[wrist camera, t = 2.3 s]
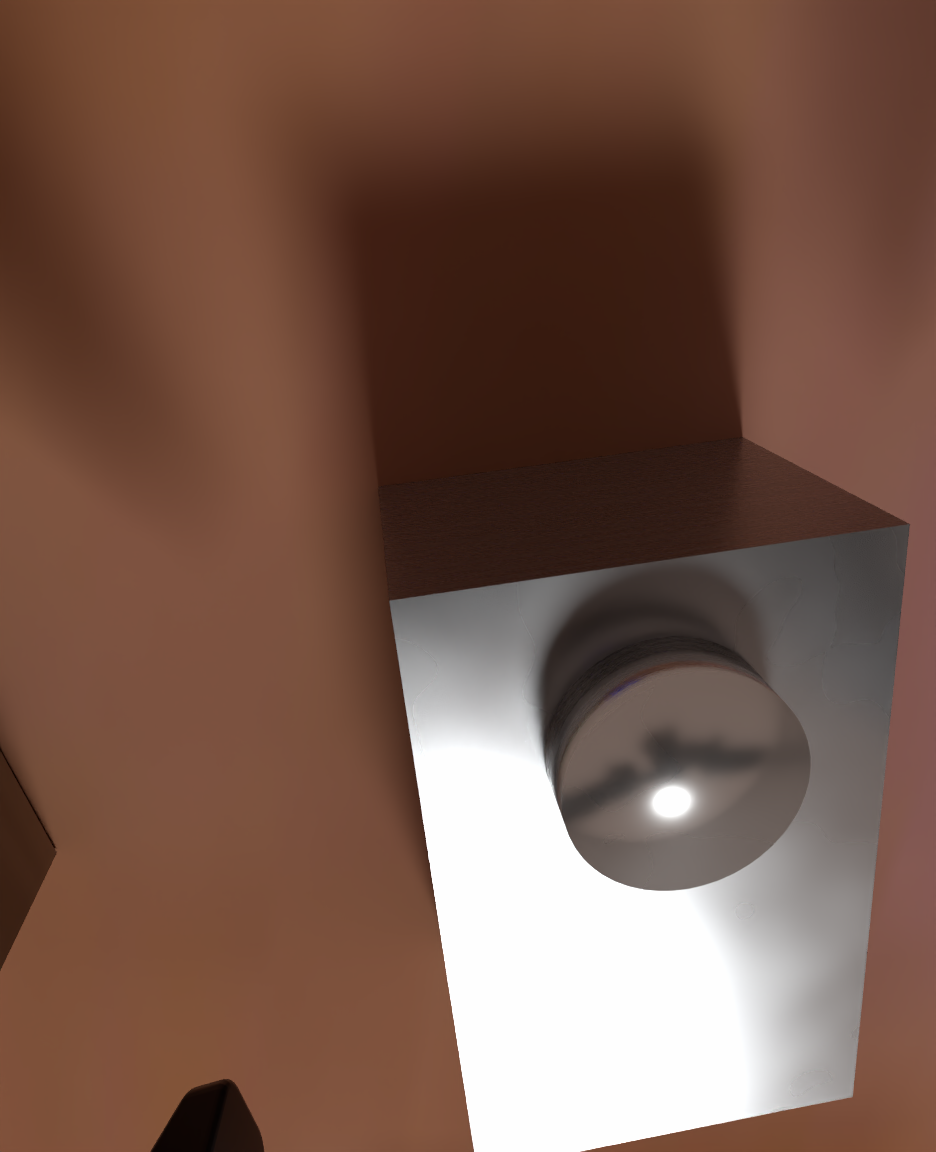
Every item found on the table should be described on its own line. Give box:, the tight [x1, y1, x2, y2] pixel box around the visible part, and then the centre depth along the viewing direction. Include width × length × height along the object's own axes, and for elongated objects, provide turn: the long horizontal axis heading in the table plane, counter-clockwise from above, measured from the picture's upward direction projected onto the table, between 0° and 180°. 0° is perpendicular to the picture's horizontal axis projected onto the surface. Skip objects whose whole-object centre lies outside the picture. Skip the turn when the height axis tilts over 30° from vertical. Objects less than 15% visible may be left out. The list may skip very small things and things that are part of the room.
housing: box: [378, 437, 910, 1152], centre depth 11 cm, size 5×8×5 cm, turn 5°
